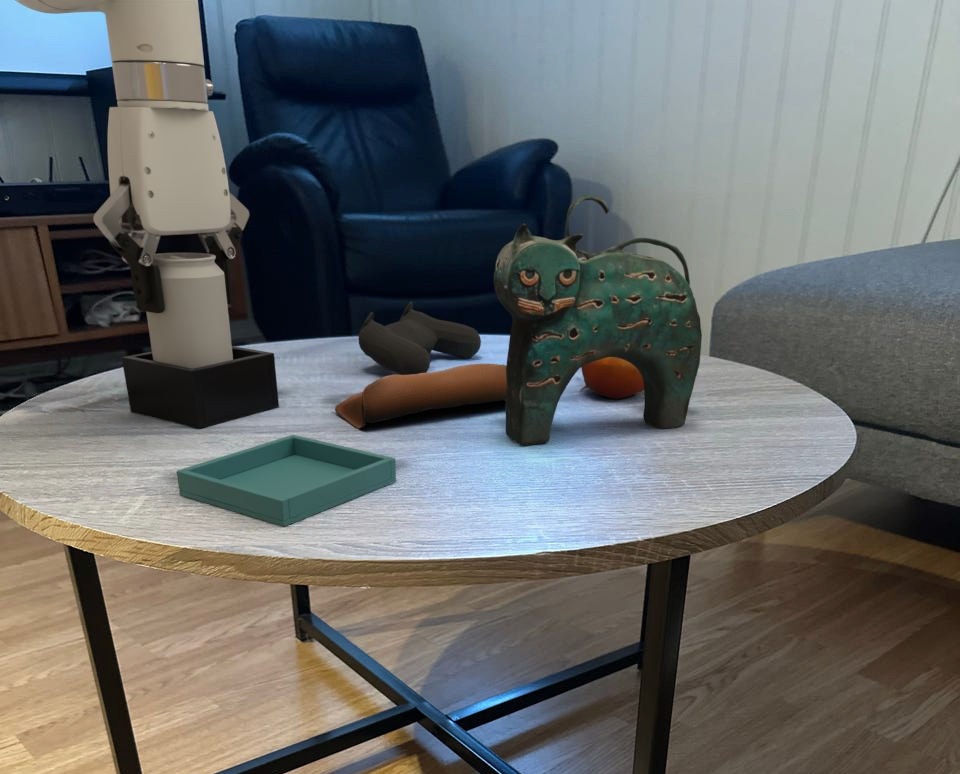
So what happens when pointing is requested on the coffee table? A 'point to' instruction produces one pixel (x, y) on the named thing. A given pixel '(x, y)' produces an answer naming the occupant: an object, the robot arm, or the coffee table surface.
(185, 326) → the can
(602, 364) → the fruit
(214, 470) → the tray
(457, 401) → the sunglasses case
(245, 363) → the box
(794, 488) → the coffee table surface
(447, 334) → the gaming controller
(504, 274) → the ceramic cat
